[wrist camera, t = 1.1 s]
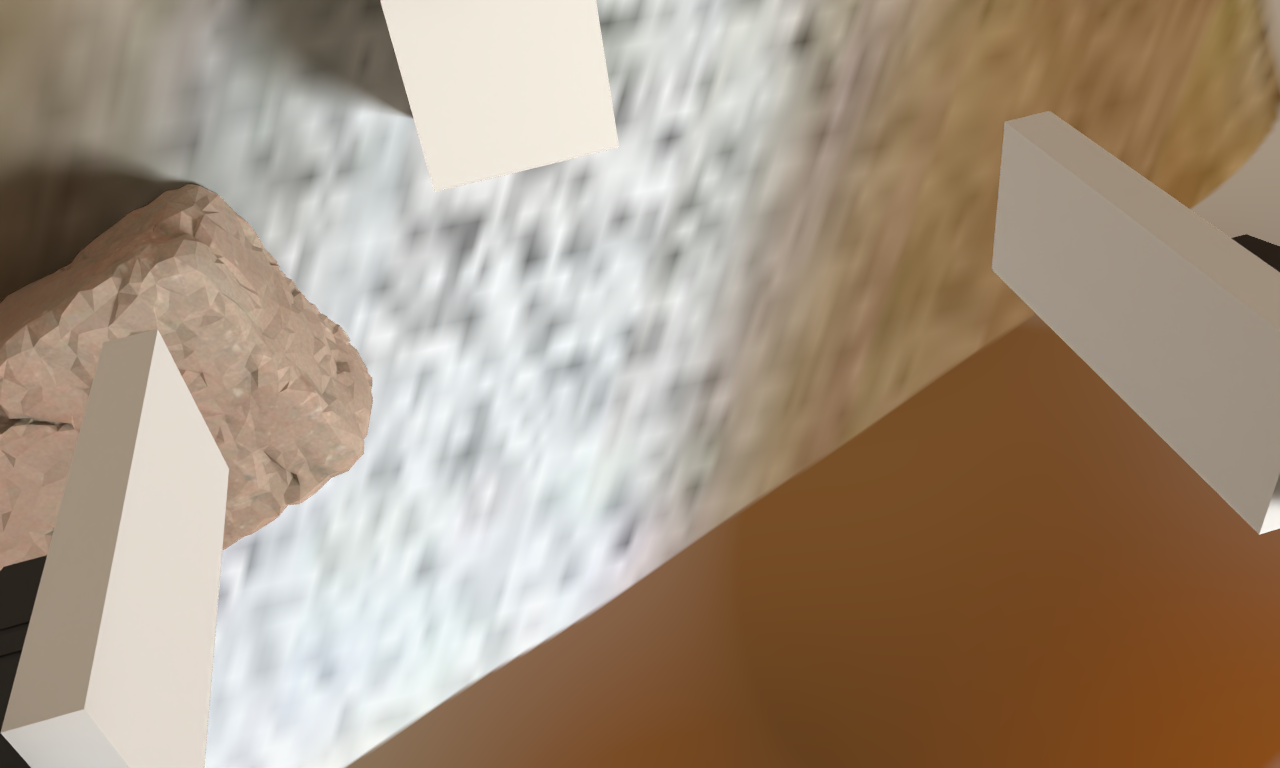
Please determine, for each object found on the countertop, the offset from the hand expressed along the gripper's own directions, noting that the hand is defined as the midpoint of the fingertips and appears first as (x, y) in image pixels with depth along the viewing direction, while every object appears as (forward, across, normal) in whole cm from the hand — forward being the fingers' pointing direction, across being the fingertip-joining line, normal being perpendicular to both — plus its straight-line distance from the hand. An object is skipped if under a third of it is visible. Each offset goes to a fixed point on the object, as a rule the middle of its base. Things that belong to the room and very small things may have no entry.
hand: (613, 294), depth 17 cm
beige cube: (+14, 0, 0) cm, 14 cm away
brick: (+14, -15, -9) cm, 22 cm away
